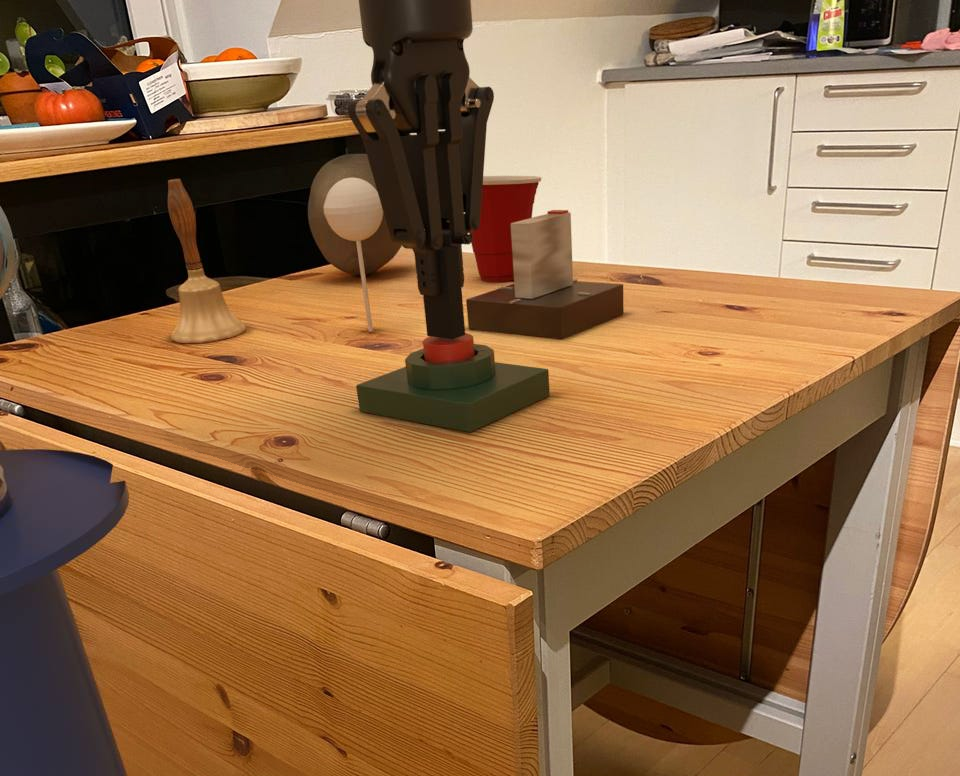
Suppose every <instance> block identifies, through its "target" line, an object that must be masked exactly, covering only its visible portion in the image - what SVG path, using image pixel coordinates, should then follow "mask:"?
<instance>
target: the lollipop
mask: <svg viewBox="0 0 960 776" xmlns="http://www.w3.org/2000/svg"><path fill="white" fill-rule="evenodd" d="M324 214H325V217H326V219H327V221H328V224H329V225H330V227H331V228H332V230H333V231H334V232H335V233H336V234H337V235H339V236H340V237H342V238H344V239H347V240H351V241H356V244H357V251H358V258H359V266H360V273H361V275H360V280H361V286H362V294H363V300H364V307H365V315H366V322H367V329H368V330H367V331H368V332H369V333H370V332H373V331H374V329H373V328H374V327H373V322H372V315H371V313H372V312H371V307H370V300H369V292H368V291H369V290H368V284H367V278H366V275H365V270H364V262H363V255H362V248H361V240H364V239H366V238H369V237H370V236H371V235H373V234H374V233H375V232H376V231H377V229H378V228H379V226H380V224H381V221H382V217H383V209H382V206H381V202H380V199H379V195H378V192H377V191H376V189H375V188H374V187H373V186H372V185H371V184H369V183H368V182H367V181H365V180H362V179H359V178H345V179H343V180H340V181H338V182H337V183H336V184H334V185H333V187H332V188H331V189H330V191H329V192H328V194H327V197H326V200H325V203H324Z"/></svg>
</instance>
